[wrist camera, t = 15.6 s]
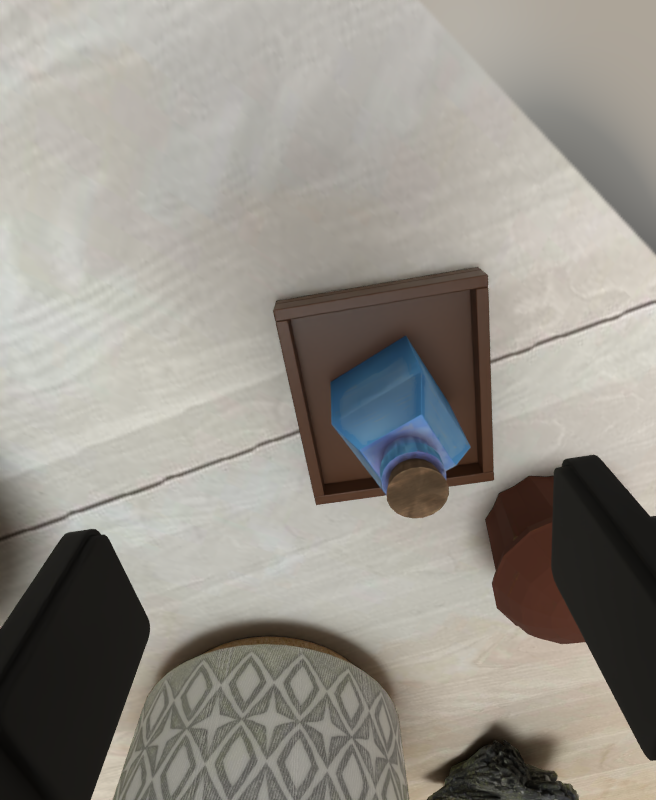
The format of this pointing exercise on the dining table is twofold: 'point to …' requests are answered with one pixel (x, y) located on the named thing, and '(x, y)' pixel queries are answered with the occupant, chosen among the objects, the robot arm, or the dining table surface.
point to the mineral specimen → (501, 778)
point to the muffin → (528, 562)
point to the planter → (266, 729)
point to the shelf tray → (371, 333)
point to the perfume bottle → (399, 428)
